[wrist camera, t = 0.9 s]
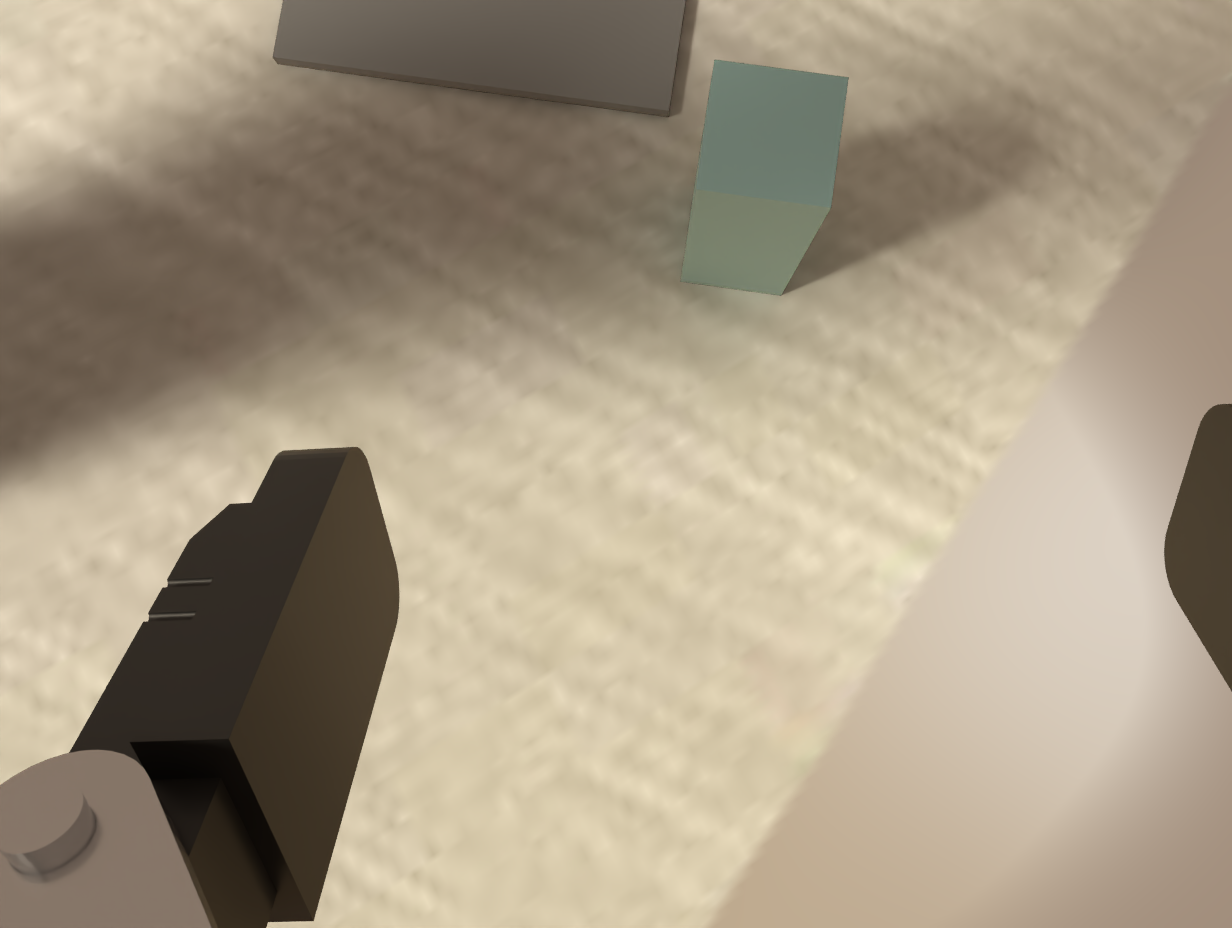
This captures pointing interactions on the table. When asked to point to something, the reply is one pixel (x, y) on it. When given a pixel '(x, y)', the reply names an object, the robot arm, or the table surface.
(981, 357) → the table surface
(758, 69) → the teal block
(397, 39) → the gray mat
